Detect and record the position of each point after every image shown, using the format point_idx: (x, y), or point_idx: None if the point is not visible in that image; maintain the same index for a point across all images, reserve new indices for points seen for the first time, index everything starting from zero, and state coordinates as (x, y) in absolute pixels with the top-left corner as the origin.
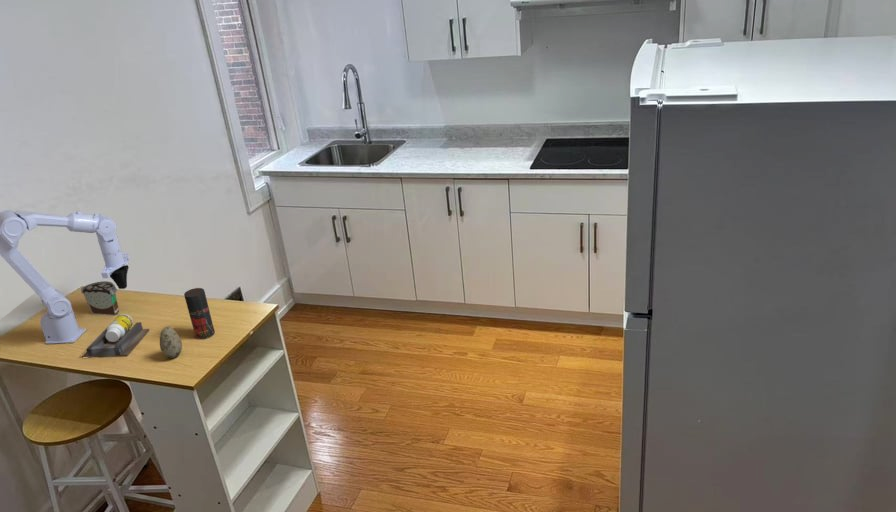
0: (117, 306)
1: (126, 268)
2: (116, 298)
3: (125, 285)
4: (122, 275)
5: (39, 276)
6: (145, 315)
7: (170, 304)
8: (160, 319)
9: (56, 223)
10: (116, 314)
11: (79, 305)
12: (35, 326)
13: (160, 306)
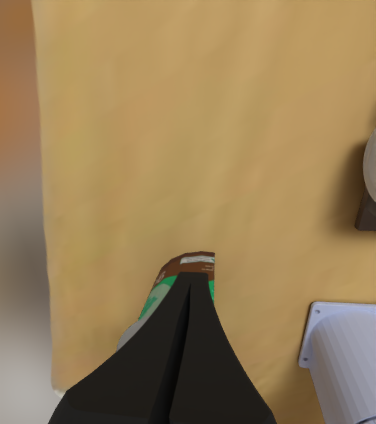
0: (185, 266)
1: (128, 420)
2: (164, 289)
3: (198, 282)
4: (236, 378)
5: None
6: (227, 127)
7: (117, 39)
8: (285, 5)
9: None
10: (208, 252)
11: None
12: None
13: (140, 91)
